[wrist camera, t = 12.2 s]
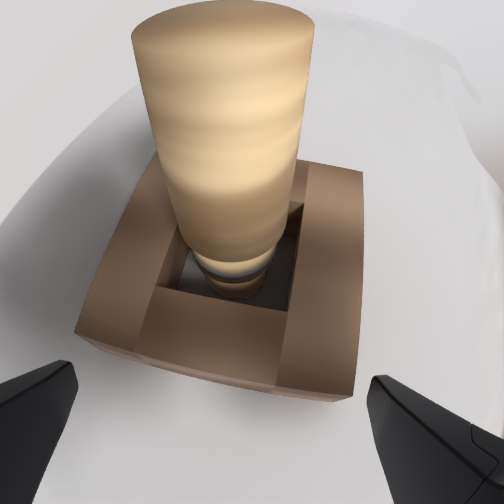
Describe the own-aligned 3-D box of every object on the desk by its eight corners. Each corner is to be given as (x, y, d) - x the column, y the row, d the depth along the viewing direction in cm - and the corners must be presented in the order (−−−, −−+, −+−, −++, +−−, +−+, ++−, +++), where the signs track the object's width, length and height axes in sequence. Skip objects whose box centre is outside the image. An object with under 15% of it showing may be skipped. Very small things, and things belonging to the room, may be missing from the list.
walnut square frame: (334, 401, 14) (352, 396, 11) (100, 349, 15) (73, 332, 12) (350, 204, 20) (362, 171, 17) (169, 176, 21) (161, 143, 18)
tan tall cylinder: (284, 303, 16) (342, 51, 5) (198, 314, 16) (115, 69, 5) (269, 232, 19) (289, -2, 7) (192, 241, 18) (143, 10, 7)
